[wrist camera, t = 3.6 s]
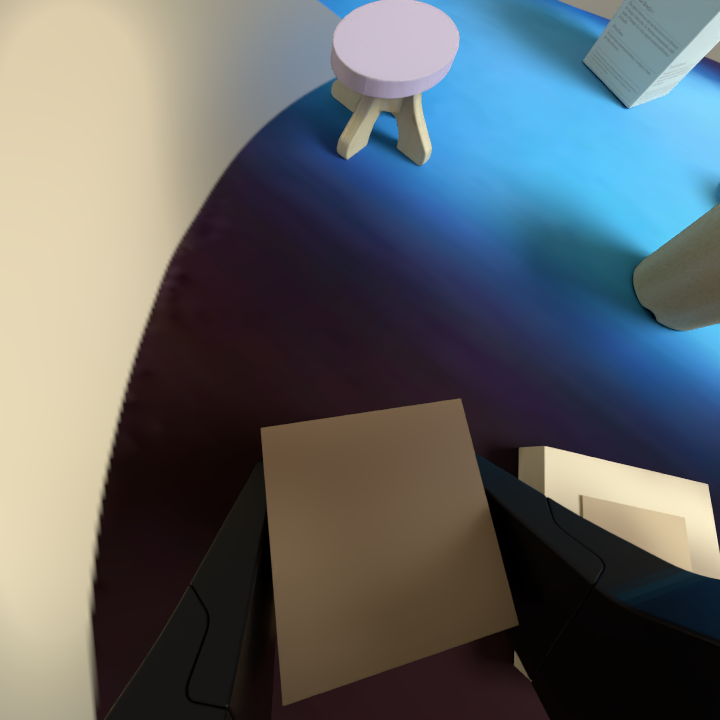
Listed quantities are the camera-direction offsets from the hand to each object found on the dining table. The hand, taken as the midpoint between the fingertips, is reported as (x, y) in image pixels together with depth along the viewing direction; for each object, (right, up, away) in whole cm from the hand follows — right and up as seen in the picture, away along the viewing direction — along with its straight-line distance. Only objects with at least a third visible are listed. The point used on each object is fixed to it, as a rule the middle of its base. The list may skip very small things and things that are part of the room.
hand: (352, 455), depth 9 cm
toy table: (+2, +20, +15) cm, 25 cm away
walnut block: (-1, -3, +6) cm, 7 cm away
